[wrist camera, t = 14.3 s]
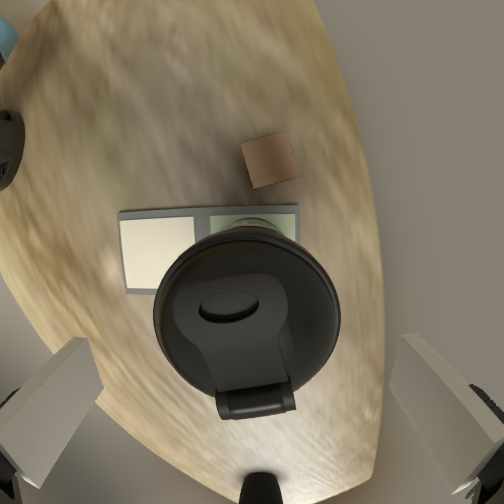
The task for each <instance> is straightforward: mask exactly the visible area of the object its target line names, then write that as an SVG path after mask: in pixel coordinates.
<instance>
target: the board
mask: <svg viewBox="0 0 504 504" xmlns="http://www.w3.org/2000/svg"><path fill="white" fill-rule="evenodd" d="M117 215H118V229H119V240H120V250H121V259H122V267H123V274H124V282H125V288H126V294H146V295H156V293H157V290H158V287H159V285H160V282H161V280H162V278H163V277H164V275H165V273H166V272H167V270H168V269H169V267H170V266H171V265H172V264H173V263H174V261H175V260H176V259H177V258H178V256H180V255H181V254H182V253H183V252H184V251H186V250H187V249H188V248H189V247H190V246H192V245H193V244H195V243H196V242H198V241H199V240H201V239H203V238H205V237H207V236H209V235H211V234H214V233H217V232H220V231H222V229H224V228H225V227H227V226H228V225H230V224H231V223H233V222H234V221H236V220H239V219H242V218H247V217H256V218H261V219H264V220H266V221H268V222H270V223H272V224H273V225H274V226H276V227H277V228H278V229H279V230H280V231H281V232H282V234H283V235H284V236H285V237H287V238H289V239H291V240H293V241H295V242H296V243H298V244H299V205H262V206H226V207H201V208H181V209H164V210H149V211H135V212H123V213H117Z"/></svg>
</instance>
